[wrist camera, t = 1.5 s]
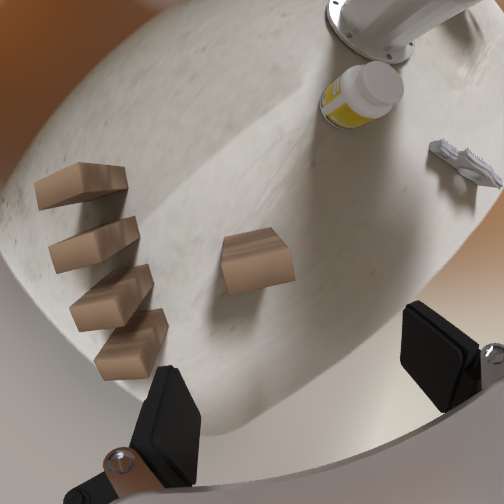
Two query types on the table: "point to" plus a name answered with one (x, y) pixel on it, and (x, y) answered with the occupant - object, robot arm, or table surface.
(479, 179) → the garden wall model
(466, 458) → the robot arm
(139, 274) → the domino
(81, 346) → the table surface
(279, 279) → the domino
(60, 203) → the domino
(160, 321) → the domino
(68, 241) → the domino
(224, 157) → the table surface
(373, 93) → the supplement bottle
